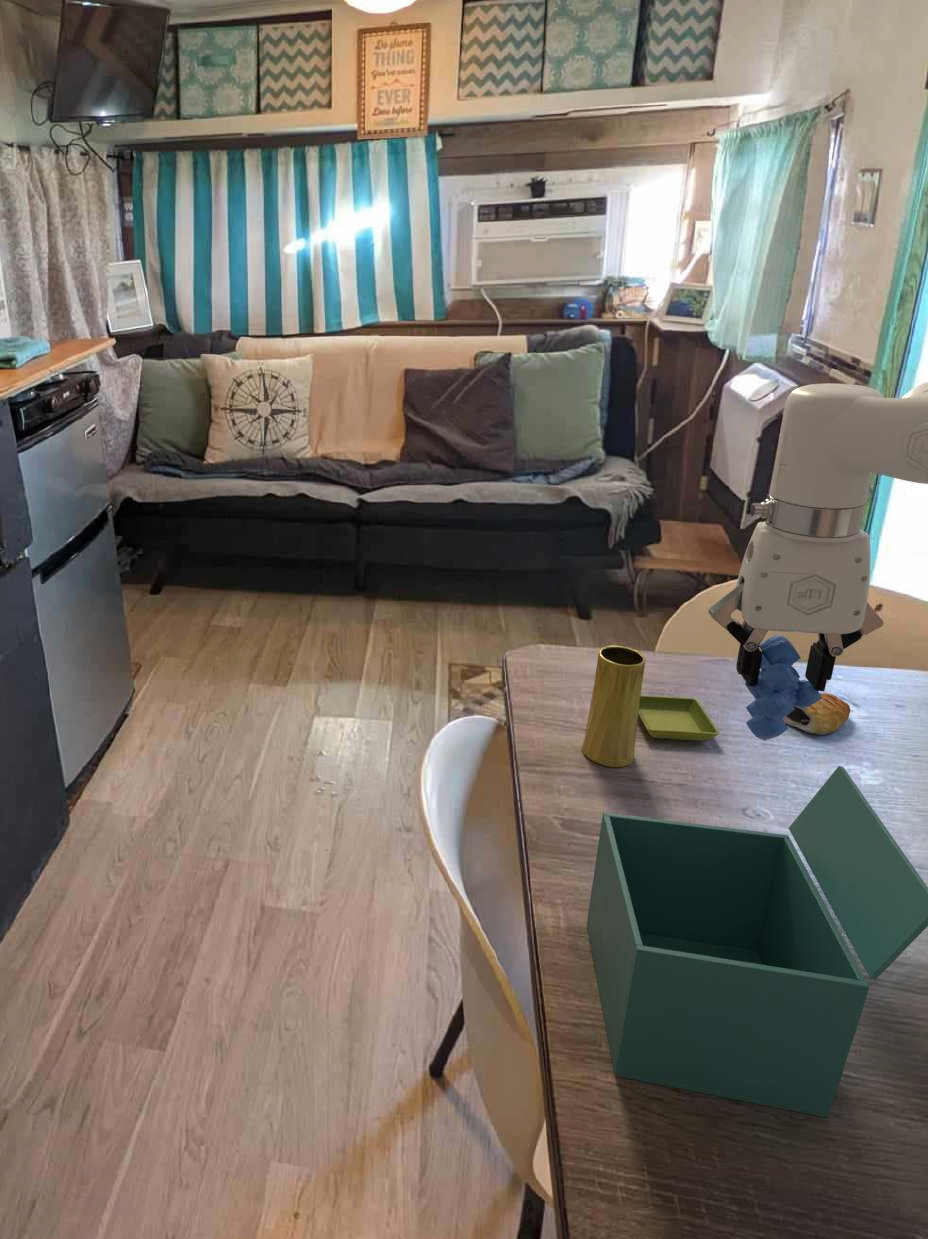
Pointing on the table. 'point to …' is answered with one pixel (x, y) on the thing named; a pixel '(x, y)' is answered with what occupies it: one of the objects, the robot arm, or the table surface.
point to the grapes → (777, 689)
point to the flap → (862, 873)
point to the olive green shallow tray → (676, 718)
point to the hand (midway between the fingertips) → (781, 680)
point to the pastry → (820, 715)
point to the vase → (614, 707)
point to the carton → (720, 964)
